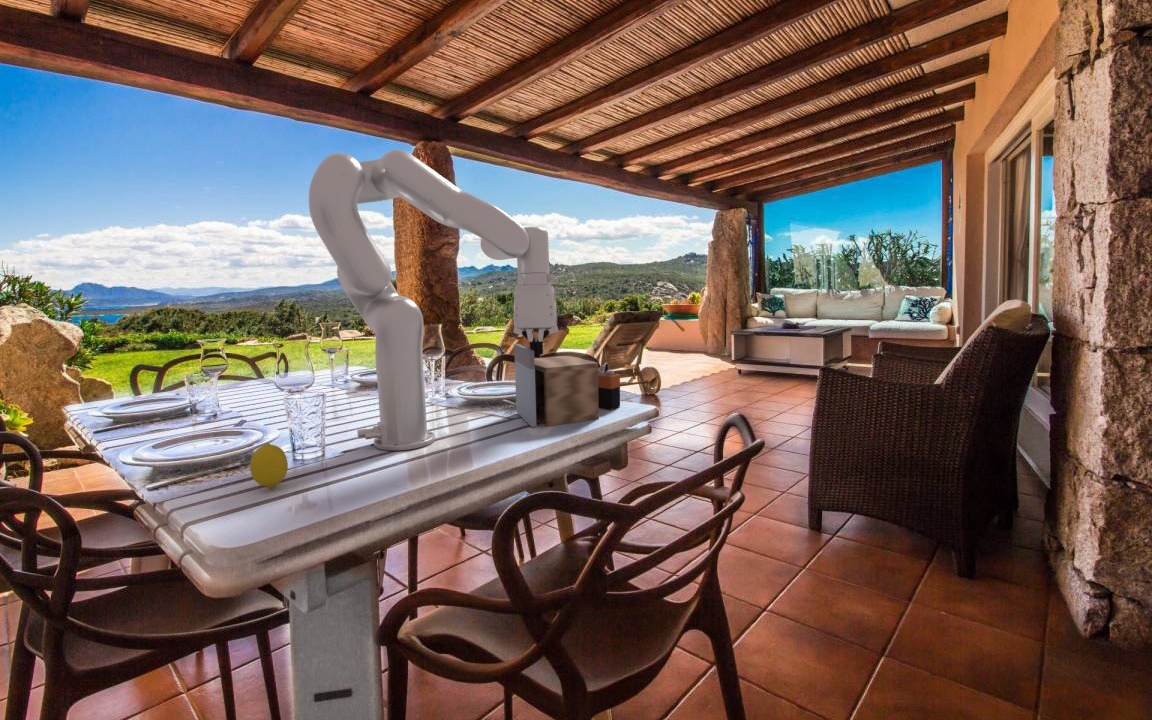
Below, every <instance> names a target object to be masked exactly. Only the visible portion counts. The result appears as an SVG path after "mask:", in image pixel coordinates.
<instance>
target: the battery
mask: <svg viewBox="0 0 1152 720" xmlns="http://www.w3.org/2000/svg"><path fill="white" fill-rule="evenodd" d="M620 406H621V374H620V373H615V370H606V371H604V370H603V369H598V407H599V409H605V410H614V409H618V408H620Z"/></svg>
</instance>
